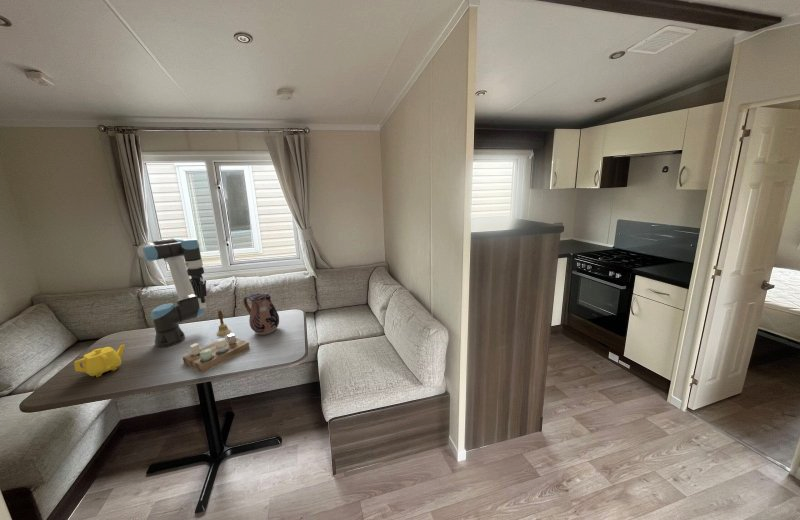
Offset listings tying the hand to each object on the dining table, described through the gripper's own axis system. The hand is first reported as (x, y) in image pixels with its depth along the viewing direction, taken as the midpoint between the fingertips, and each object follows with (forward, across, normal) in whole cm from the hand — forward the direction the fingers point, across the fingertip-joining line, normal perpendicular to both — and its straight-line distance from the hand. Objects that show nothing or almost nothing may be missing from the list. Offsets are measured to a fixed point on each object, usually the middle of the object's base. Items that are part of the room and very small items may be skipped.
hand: (203, 307), depth 167 cm
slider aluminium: (+22, +11, +6) cm, 26 cm away
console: (+26, +10, -2) cm, 28 cm away
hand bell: (+27, -16, +16) cm, 35 cm away
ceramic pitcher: (+27, +8, +29) cm, 40 cm away
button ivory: (+20, +15, -2) cm, 25 cm away
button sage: (+22, +15, -10) cm, 28 cm away
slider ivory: (+22, +4, -10) cm, 25 cm away
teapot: (+27, -33, -38) cm, 57 cm away
